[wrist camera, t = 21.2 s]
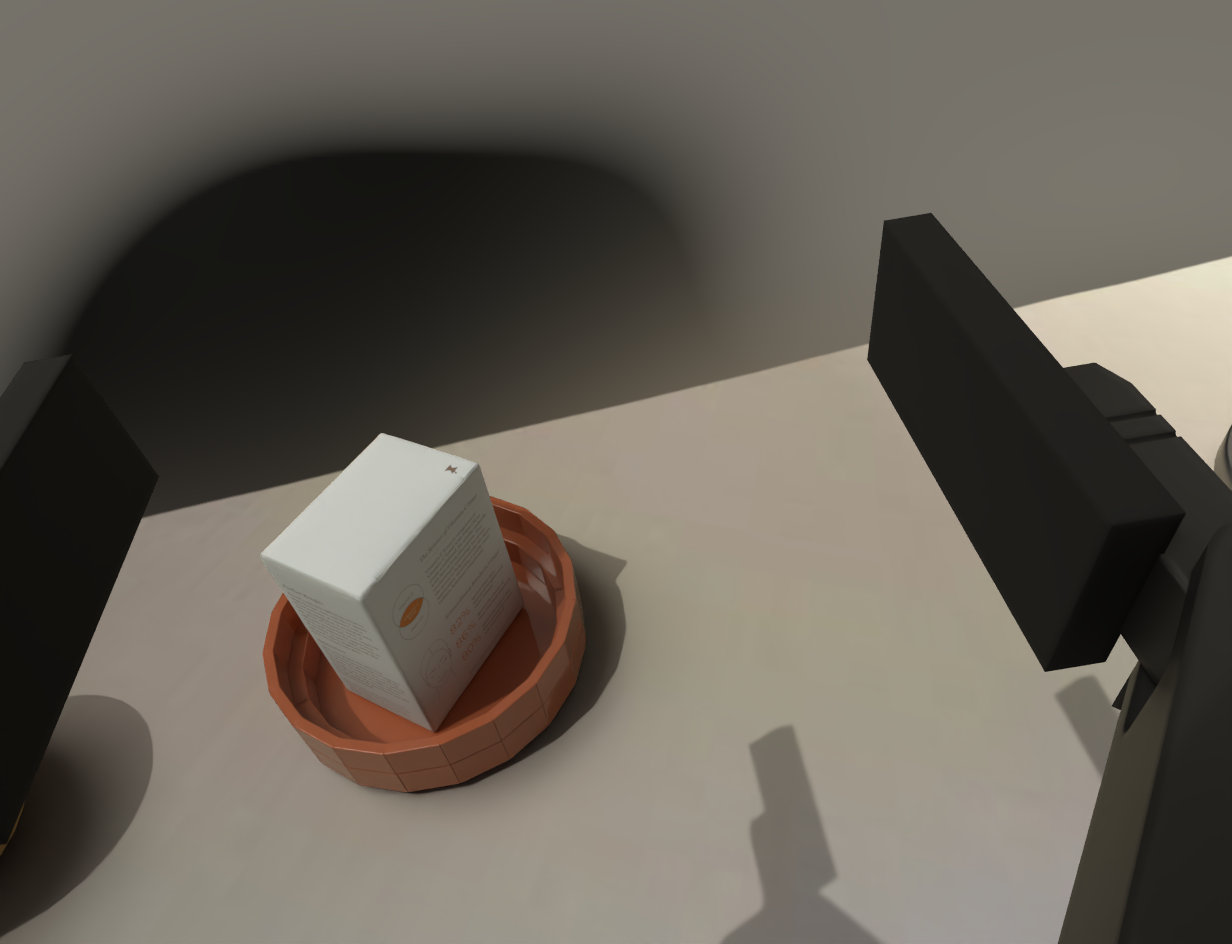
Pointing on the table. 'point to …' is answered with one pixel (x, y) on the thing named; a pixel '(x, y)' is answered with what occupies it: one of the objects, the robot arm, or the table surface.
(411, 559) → the small box
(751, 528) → the table surface
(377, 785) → the bowl
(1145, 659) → the robot arm
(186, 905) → the table surface
